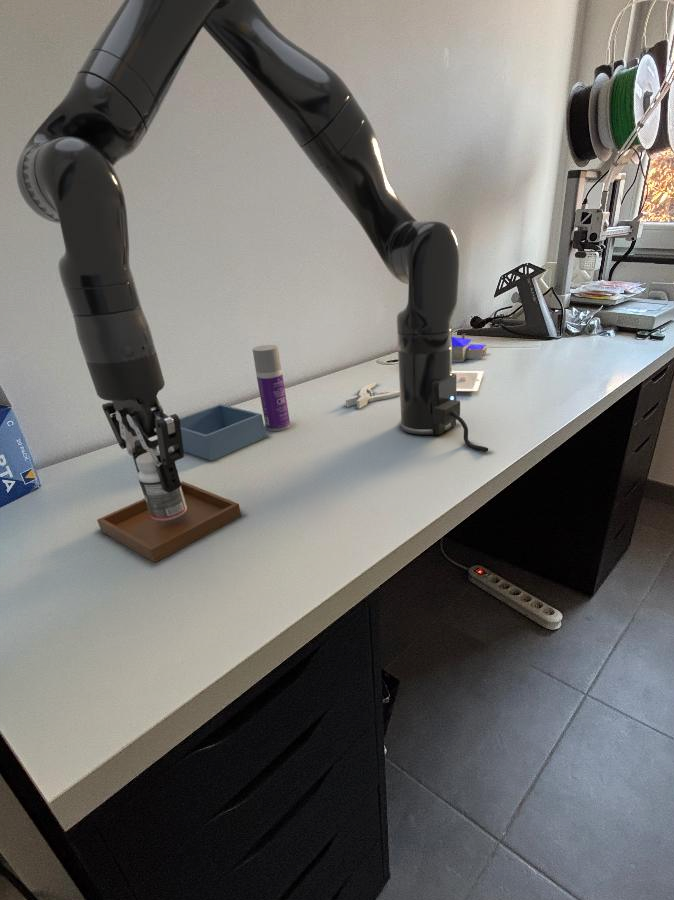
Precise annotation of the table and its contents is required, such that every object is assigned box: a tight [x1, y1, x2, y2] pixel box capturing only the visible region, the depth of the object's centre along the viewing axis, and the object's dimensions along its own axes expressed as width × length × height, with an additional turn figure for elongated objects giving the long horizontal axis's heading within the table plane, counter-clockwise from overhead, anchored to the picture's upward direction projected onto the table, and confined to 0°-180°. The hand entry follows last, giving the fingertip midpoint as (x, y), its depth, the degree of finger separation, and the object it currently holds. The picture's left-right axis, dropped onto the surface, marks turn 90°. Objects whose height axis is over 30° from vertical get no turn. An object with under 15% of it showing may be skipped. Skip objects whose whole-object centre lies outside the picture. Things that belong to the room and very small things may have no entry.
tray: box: [96, 480, 242, 563], centre depth 71 cm, size 13×13×2 cm
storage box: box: [172, 403, 267, 462], centre depth 96 cm, size 12×12×4 cm
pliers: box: [345, 381, 400, 409], centre depth 114 cm, size 10×2×15 cm
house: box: [452, 333, 488, 363], centre depth 137 cm, size 11×14×6 cm
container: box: [252, 344, 291, 432], centre depth 98 cm, size 5×5×15 cm
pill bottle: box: [136, 449, 187, 521], centre depth 69 cm, size 5×5×8 cm
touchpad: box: [452, 370, 484, 392], centre depth 118 cm, size 8×15×2 cm, turn 166°
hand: (160, 483), depth 69 cm, fingers closed on pill bottle, 4 cm apart
